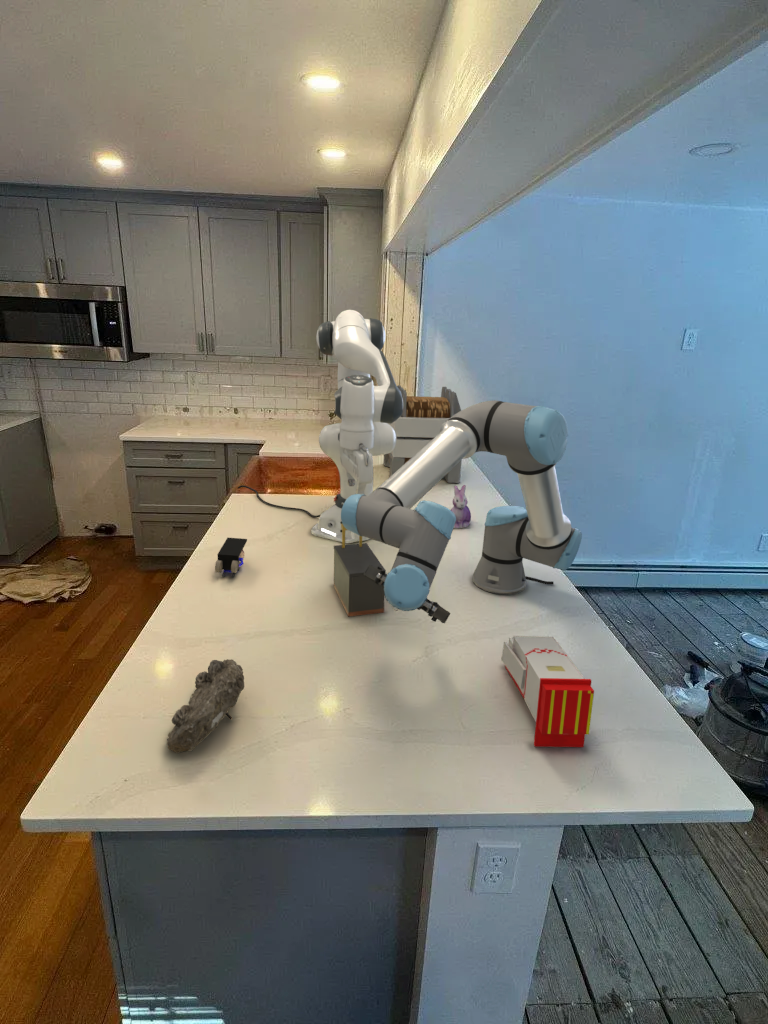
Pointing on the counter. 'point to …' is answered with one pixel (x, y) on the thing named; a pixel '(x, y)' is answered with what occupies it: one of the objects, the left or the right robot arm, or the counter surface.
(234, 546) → the figurine character
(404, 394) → the transformer
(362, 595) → the chest
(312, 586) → the counter surface
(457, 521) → the figurine
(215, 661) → the fossil
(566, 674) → the toy
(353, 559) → the lid
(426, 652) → the counter surface
